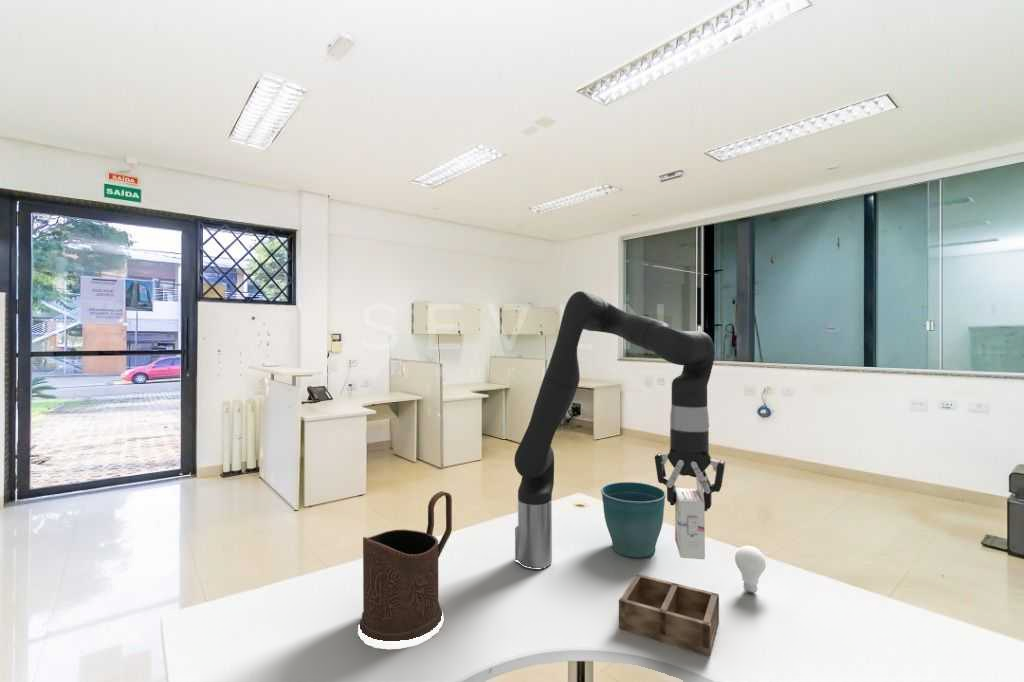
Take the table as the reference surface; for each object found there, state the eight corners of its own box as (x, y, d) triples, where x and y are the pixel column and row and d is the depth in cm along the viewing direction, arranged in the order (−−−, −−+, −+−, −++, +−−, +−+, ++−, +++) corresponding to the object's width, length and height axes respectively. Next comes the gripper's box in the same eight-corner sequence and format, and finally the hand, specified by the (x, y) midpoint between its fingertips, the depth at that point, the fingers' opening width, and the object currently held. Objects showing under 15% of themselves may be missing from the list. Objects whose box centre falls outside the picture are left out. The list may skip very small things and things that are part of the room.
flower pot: (600, 560, 131) (599, 499, 131) (602, 534, 148) (602, 479, 148) (668, 567, 127) (668, 503, 127) (662, 539, 144) (662, 483, 144)
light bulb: (763, 588, 116) (763, 543, 116) (768, 602, 110) (768, 554, 110) (733, 583, 118) (733, 539, 118) (736, 597, 112) (736, 550, 112)
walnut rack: (618, 628, 100) (618, 600, 100) (635, 598, 112) (635, 573, 112) (710, 657, 91) (710, 625, 91) (718, 621, 102) (718, 594, 102)
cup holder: (338, 627, 101) (337, 510, 101) (423, 581, 120) (423, 482, 120) (395, 663, 90) (394, 531, 90) (479, 606, 109) (478, 497, 109)
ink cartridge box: (673, 540, 104) (673, 473, 104) (697, 542, 103) (697, 474, 103) (679, 558, 96) (679, 485, 96) (705, 560, 95) (705, 486, 95)
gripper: (649, 426, 100) (649, 506, 100) (724, 433, 92) (724, 519, 92) (658, 420, 106) (658, 496, 106) (728, 427, 99) (728, 507, 99)
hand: (689, 506), depth 99 cm, fingers closed on ink cartridge box, 6 cm apart
